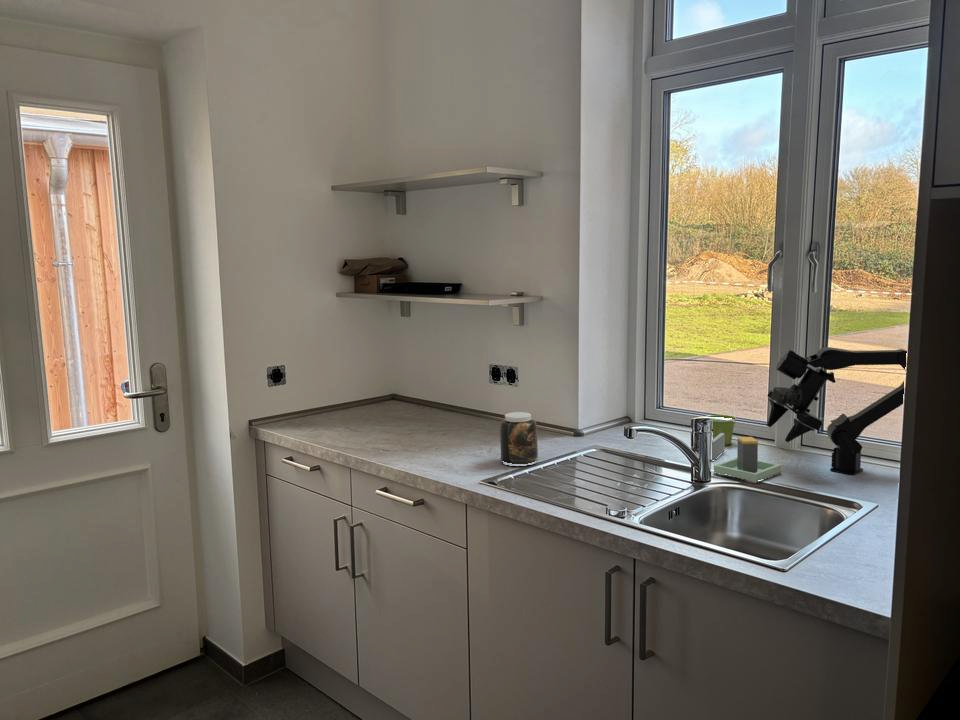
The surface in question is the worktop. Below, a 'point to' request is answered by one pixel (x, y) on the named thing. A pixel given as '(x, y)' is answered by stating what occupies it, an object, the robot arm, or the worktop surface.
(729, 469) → the tray
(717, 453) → the panel
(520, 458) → the jar
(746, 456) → the grey yellow-capped canister
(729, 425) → the plant pot
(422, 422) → the worktop surface
